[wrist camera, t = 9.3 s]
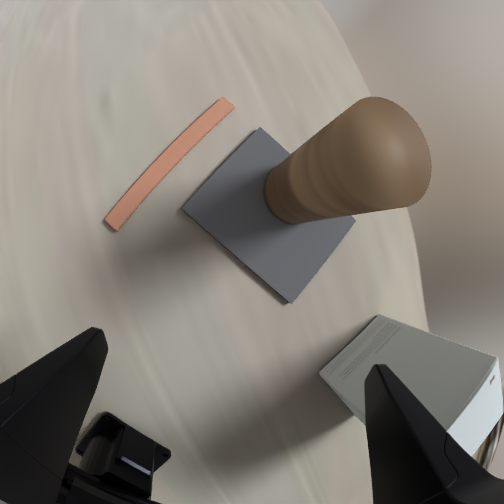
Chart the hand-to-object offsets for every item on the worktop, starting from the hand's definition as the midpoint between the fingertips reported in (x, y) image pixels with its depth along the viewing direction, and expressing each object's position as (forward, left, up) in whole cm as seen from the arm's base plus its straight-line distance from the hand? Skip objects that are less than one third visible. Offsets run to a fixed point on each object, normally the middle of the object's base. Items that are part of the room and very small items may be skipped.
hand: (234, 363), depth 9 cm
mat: (+7, 0, -11) cm, 13 cm away
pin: (+9, 0, -11) cm, 14 cm away
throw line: (+5, +8, -11) cm, 15 cm away
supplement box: (+3, -15, -11) cm, 19 cm away
